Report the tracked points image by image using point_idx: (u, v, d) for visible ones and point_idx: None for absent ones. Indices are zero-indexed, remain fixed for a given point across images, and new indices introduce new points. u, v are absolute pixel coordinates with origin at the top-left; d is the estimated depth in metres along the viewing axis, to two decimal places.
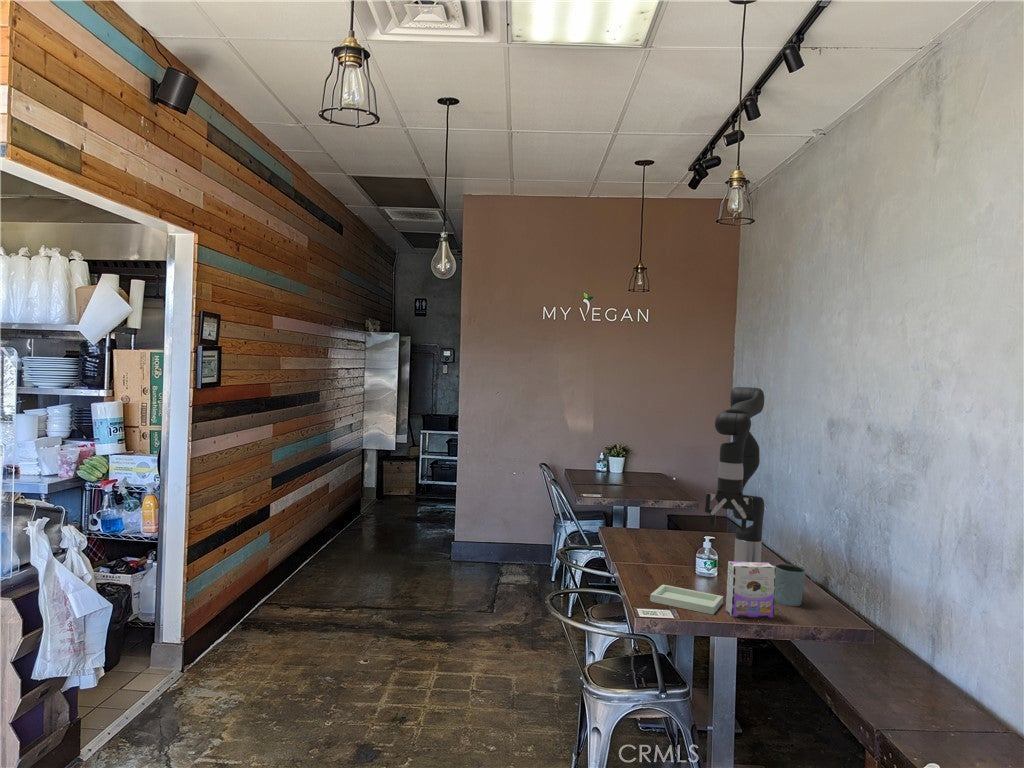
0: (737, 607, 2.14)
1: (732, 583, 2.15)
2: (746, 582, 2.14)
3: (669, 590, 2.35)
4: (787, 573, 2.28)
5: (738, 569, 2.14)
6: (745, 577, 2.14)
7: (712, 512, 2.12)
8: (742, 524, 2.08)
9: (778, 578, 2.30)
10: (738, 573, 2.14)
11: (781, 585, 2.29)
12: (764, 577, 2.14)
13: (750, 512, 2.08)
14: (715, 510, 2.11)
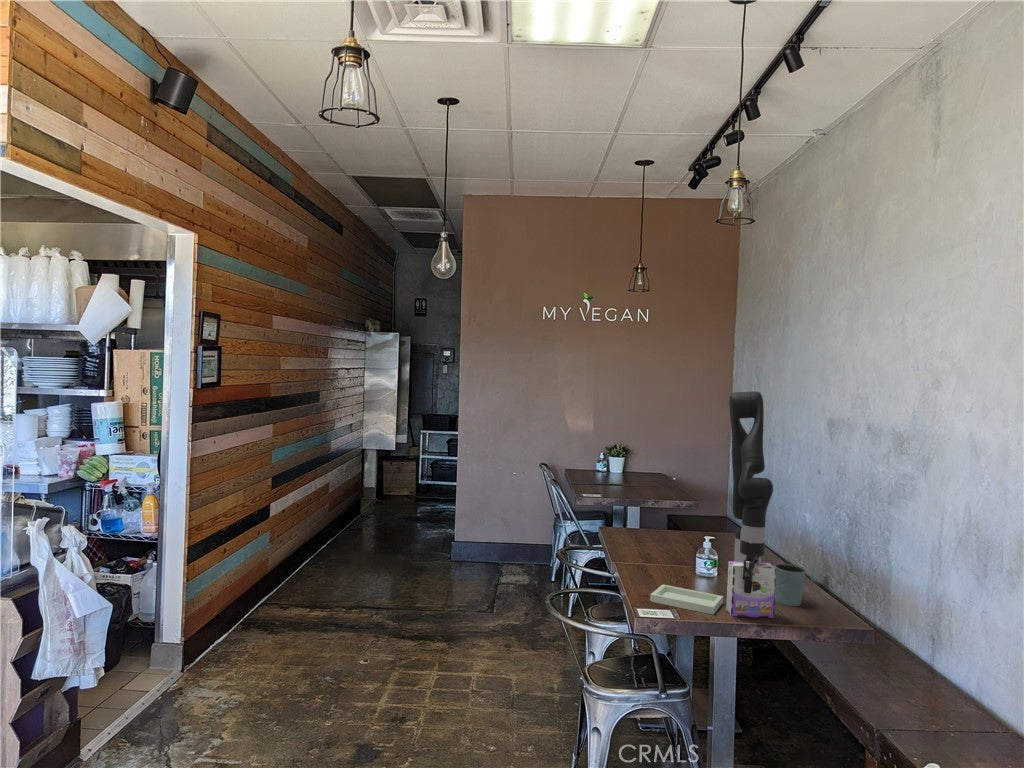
0: (737, 606, 2.15)
1: (732, 583, 2.15)
2: None
3: (669, 590, 2.35)
4: (787, 573, 2.28)
5: (738, 569, 2.14)
6: None
7: (752, 579, 2.12)
8: None
9: (778, 578, 2.30)
10: (737, 573, 2.14)
11: (781, 585, 2.29)
12: (764, 578, 2.14)
13: None
14: (752, 576, 2.13)
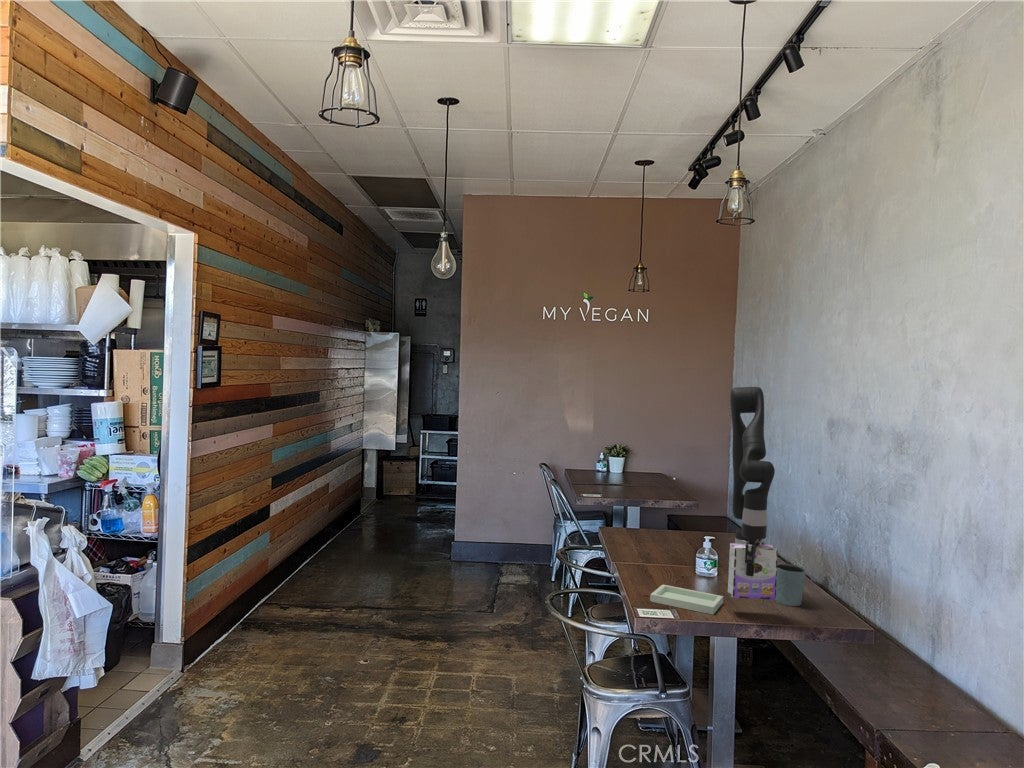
0: (738, 588, 2.15)
1: (733, 565, 2.15)
2: None
3: (669, 590, 2.35)
4: (787, 573, 2.28)
5: (739, 551, 2.15)
6: None
7: (754, 562, 2.13)
8: None
9: (778, 578, 2.30)
10: (739, 555, 2.15)
11: (781, 585, 2.29)
12: (765, 559, 2.14)
13: None
14: (754, 559, 2.13)
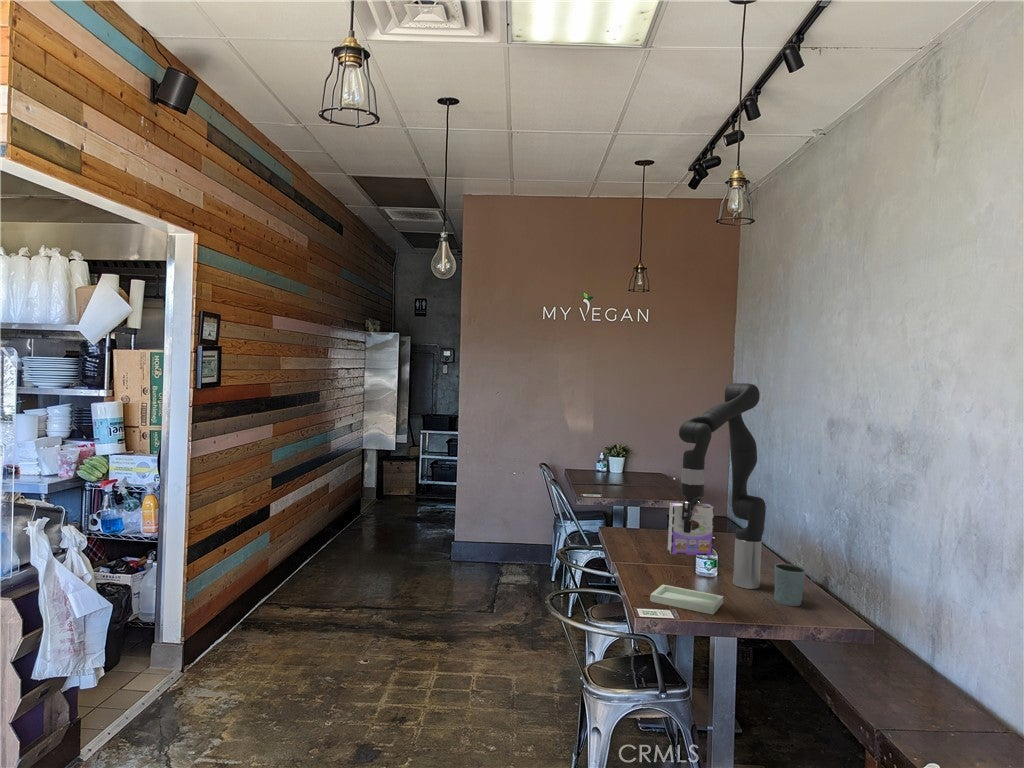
0: (676, 544, 2.24)
1: (672, 522, 2.24)
2: None
3: (669, 590, 2.35)
4: (787, 573, 2.28)
5: (677, 509, 2.24)
6: None
7: (691, 519, 2.22)
8: None
9: (778, 578, 2.30)
10: (677, 512, 2.24)
11: (781, 585, 2.29)
12: (702, 517, 2.23)
13: None
14: (691, 516, 2.22)
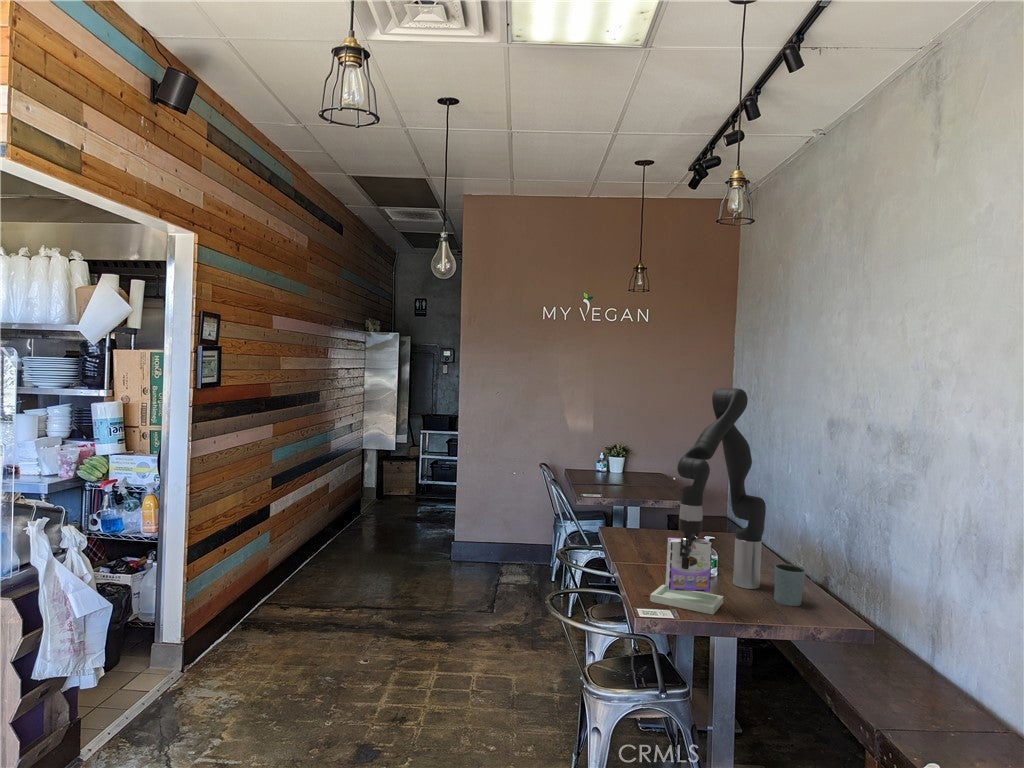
0: (674, 580, 2.24)
1: (670, 558, 2.24)
2: None
3: (669, 590, 2.35)
4: (787, 573, 2.28)
5: (675, 545, 2.24)
6: None
7: (689, 555, 2.22)
8: None
9: (778, 578, 2.30)
10: (675, 548, 2.24)
11: (781, 585, 2.29)
12: (700, 553, 2.23)
13: None
14: (689, 552, 2.22)
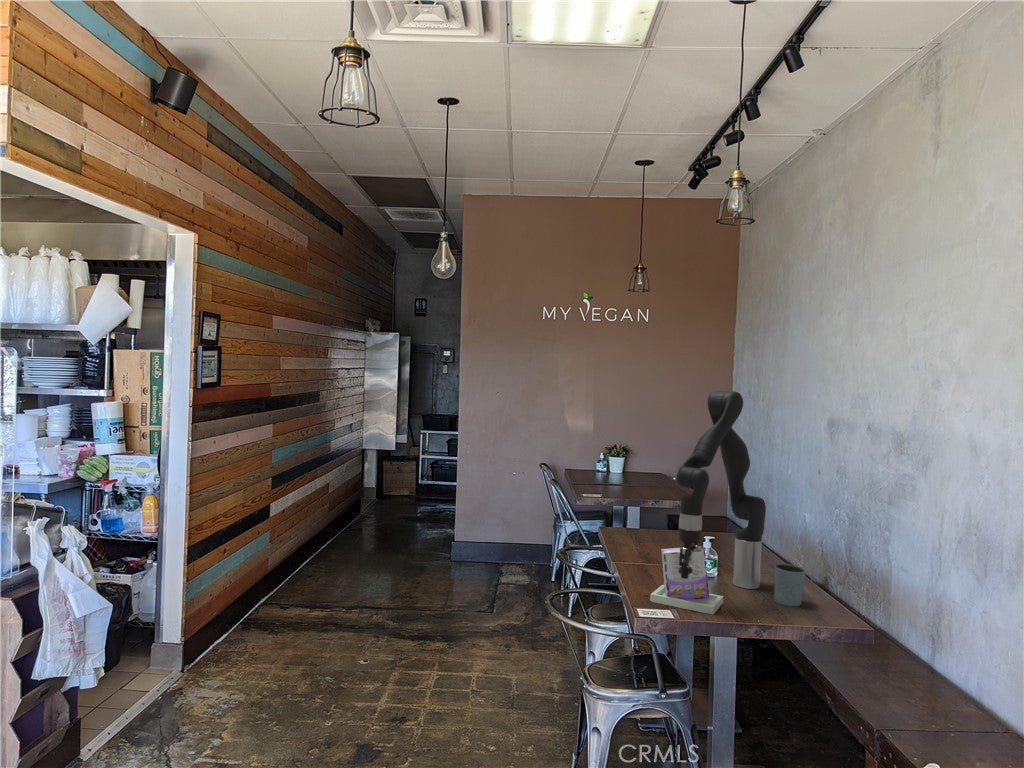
0: (672, 591, 2.24)
1: (665, 570, 2.24)
2: (677, 568, 2.24)
3: None
4: (787, 573, 2.28)
5: (668, 556, 2.24)
6: (676, 563, 2.24)
7: (688, 565, 2.21)
8: None
9: (778, 578, 2.30)
10: (668, 560, 2.24)
11: (781, 585, 2.29)
12: (694, 561, 2.23)
13: None
14: (689, 562, 2.22)
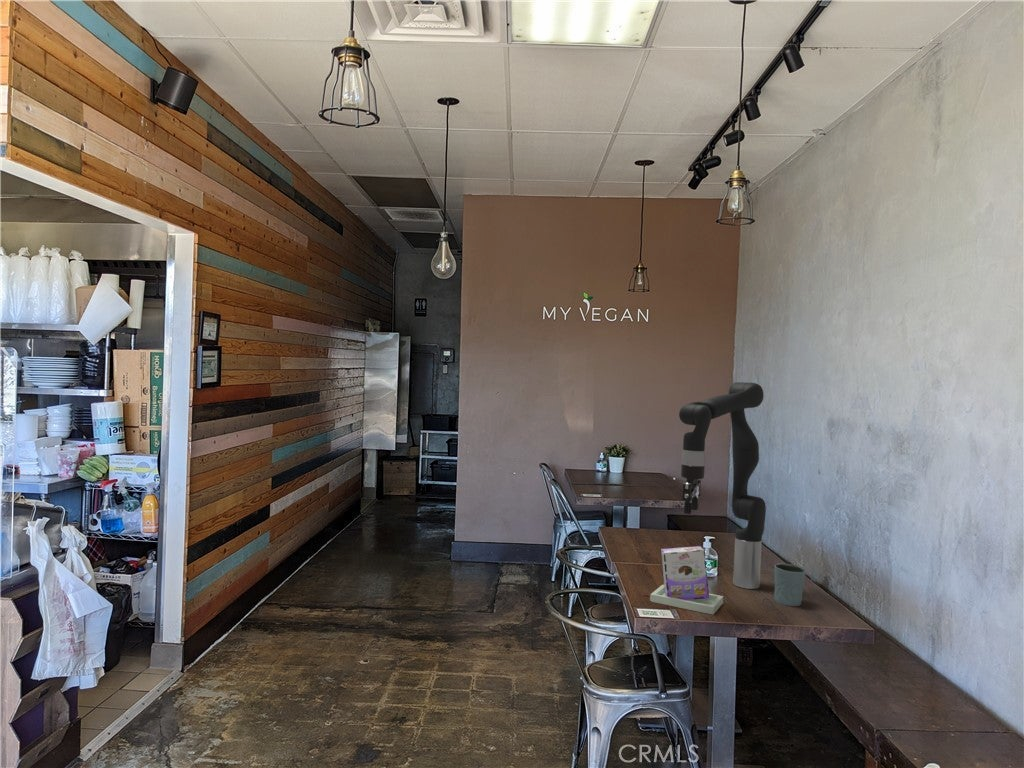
0: (672, 591, 2.24)
1: (664, 570, 2.25)
2: (677, 567, 2.24)
3: None
4: (787, 573, 2.28)
5: (668, 556, 2.24)
6: (676, 563, 2.24)
7: (691, 500, 2.22)
8: (697, 504, 2.30)
9: (778, 578, 2.30)
10: (668, 560, 2.24)
11: (781, 585, 2.29)
12: (694, 561, 2.23)
13: (699, 492, 2.32)
14: (692, 497, 2.23)
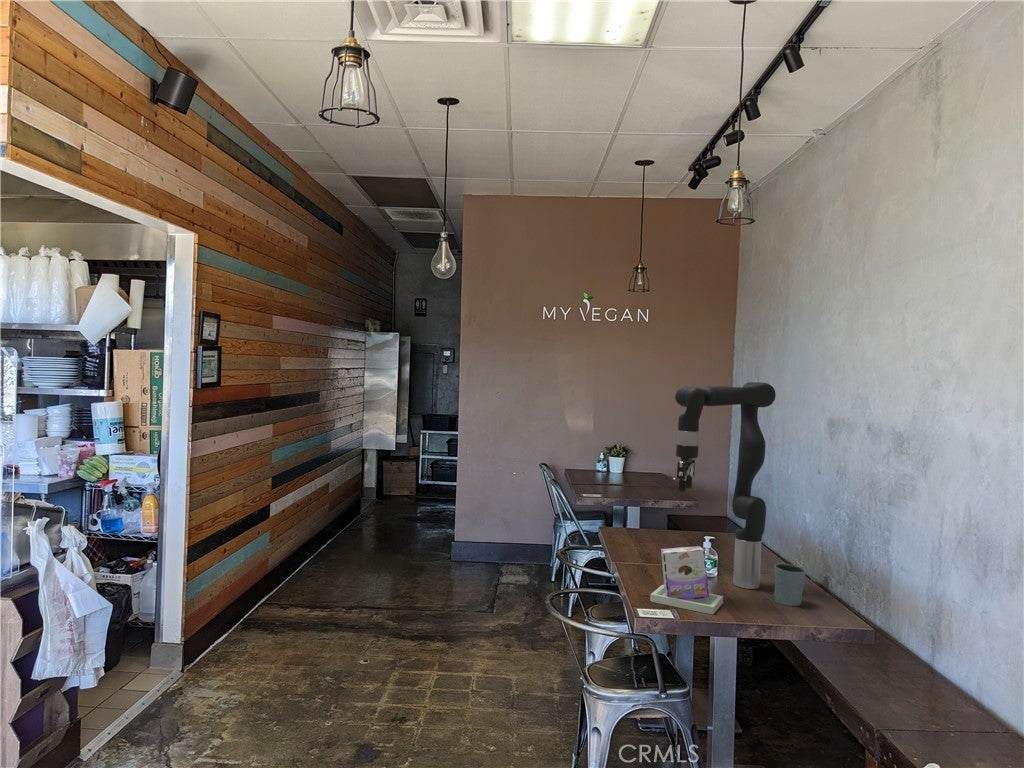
0: (672, 591, 2.24)
1: (664, 570, 2.25)
2: (677, 567, 2.24)
3: None
4: (787, 573, 2.28)
5: (668, 556, 2.24)
6: (675, 563, 2.24)
7: (685, 478, 2.33)
8: (691, 483, 2.40)
9: (778, 578, 2.30)
10: (668, 559, 2.24)
11: (781, 585, 2.29)
12: (694, 561, 2.24)
13: (693, 471, 2.42)
14: (686, 476, 2.33)
